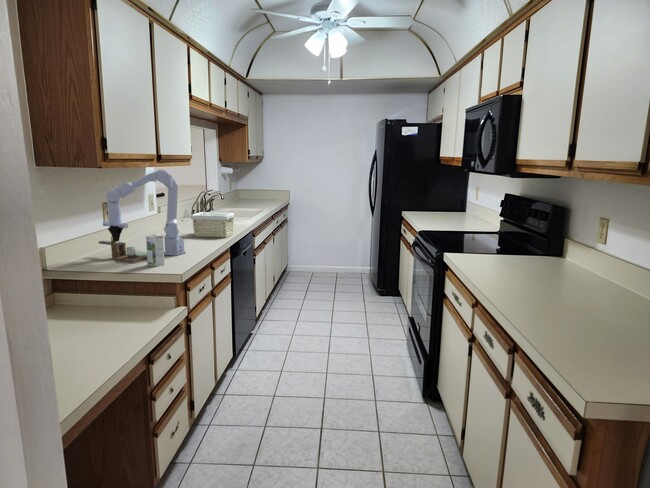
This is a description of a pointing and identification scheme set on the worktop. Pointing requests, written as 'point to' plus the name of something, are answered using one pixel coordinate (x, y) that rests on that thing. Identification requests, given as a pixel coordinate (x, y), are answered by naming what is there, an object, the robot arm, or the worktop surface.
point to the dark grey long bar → (110, 242)
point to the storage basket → (213, 224)
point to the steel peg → (131, 252)
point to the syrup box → (155, 249)
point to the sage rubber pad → (141, 253)
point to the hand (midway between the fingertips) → (116, 241)
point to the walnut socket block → (124, 254)
